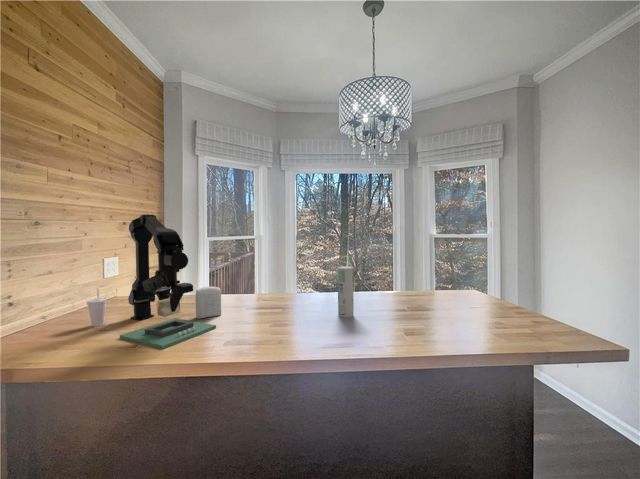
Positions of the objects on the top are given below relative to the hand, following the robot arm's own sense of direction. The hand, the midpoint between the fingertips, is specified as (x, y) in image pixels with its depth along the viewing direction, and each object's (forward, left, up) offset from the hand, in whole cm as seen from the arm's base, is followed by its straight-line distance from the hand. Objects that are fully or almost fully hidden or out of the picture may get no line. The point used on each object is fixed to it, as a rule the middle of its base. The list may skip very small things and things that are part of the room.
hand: (169, 310), depth 113 cm
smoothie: (-33, -6, -8) cm, 34 cm away
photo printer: (-3, +21, -8) cm, 23 cm away
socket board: (0, 0, -8) cm, 8 cm away
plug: (0, 0, -1) cm, 1 cm away
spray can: (+48, +46, -8) cm, 67 cm away
